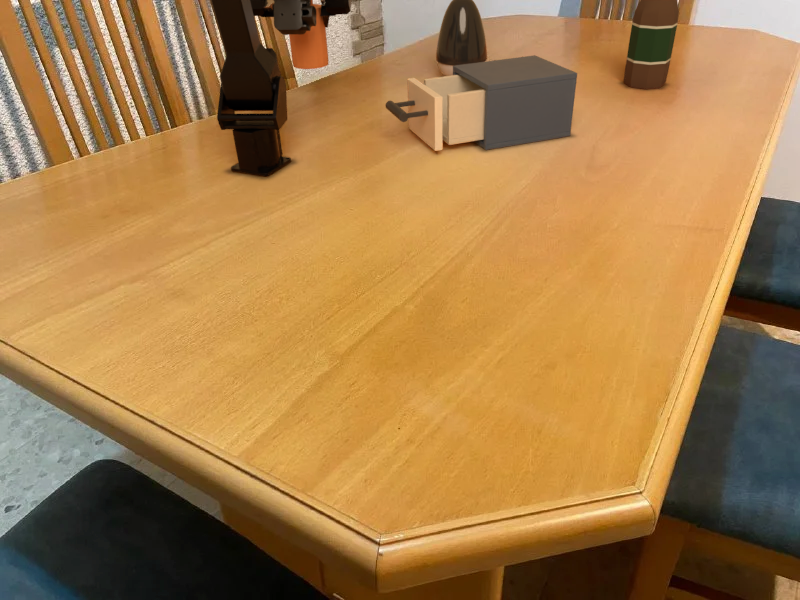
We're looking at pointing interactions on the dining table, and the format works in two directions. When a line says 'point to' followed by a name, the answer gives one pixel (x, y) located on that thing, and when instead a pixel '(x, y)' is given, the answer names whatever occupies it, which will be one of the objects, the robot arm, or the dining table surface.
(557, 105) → the cabinet
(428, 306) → the dining table surface
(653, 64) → the beer bottle
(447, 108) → the drawer
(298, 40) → the detergent bottle
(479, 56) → the dark brown rounded piece
